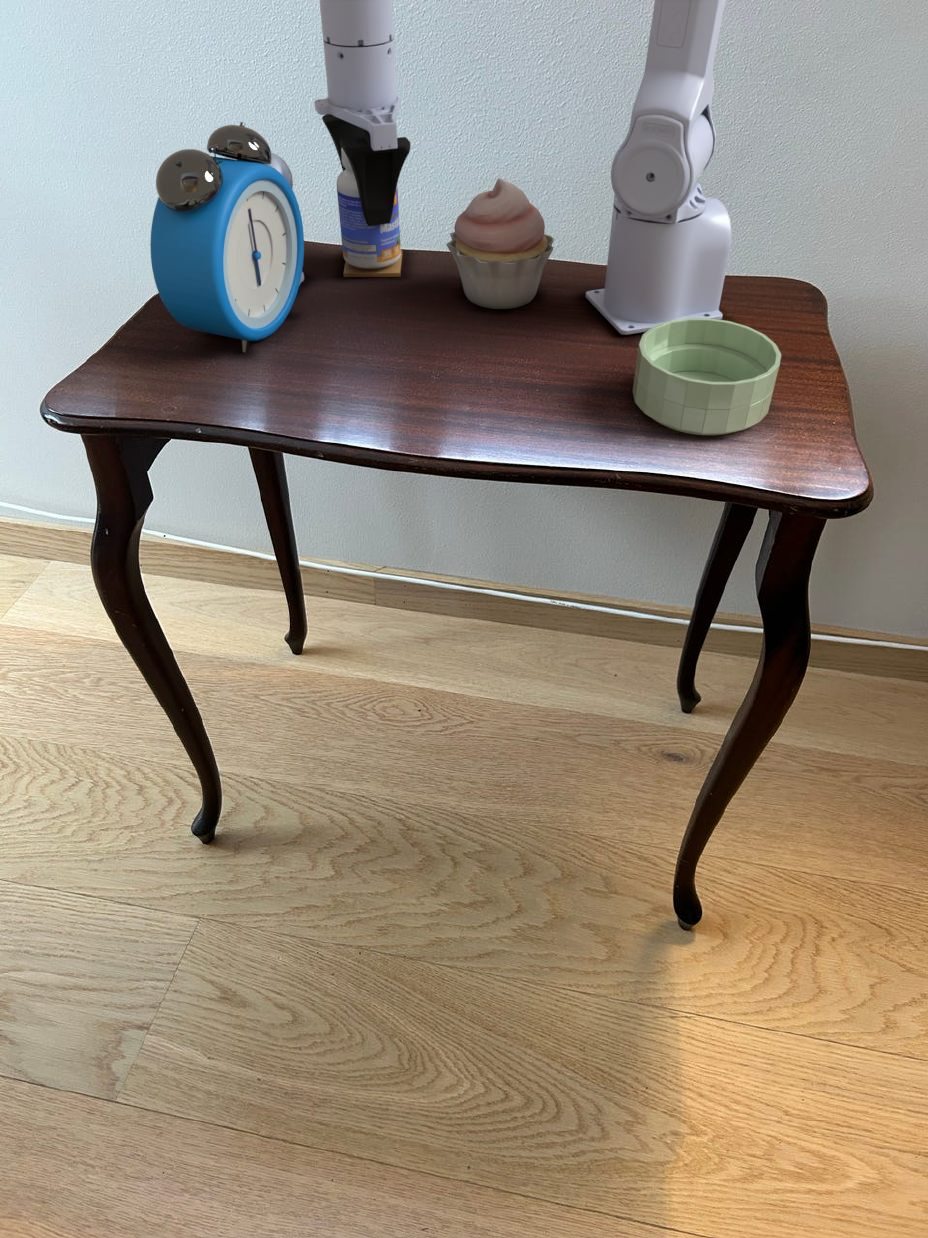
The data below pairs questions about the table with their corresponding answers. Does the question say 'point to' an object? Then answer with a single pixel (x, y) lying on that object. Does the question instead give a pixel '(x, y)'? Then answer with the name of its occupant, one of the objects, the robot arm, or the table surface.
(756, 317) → the table surface
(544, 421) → the table surface
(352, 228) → the pill bottle
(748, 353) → the bowl
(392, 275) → the coaster
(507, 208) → the cupcake
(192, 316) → the alarm clock
